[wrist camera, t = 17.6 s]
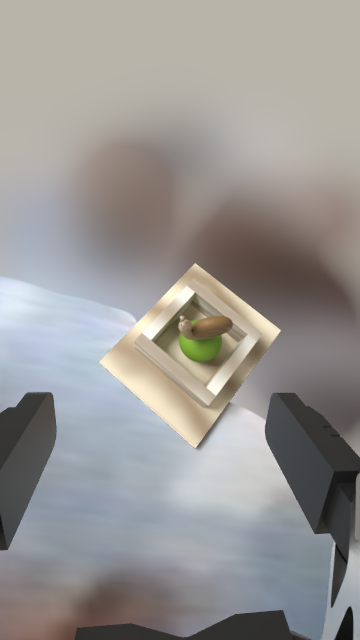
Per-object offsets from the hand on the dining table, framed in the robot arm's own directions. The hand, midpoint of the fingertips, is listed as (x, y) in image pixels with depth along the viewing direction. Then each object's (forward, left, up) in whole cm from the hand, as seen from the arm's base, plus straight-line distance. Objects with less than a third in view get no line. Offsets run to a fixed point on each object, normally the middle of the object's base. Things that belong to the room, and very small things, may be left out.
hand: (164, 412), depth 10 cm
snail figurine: (+10, +2, -26) cm, 28 cm away
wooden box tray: (+11, +2, -27) cm, 29 cm away
